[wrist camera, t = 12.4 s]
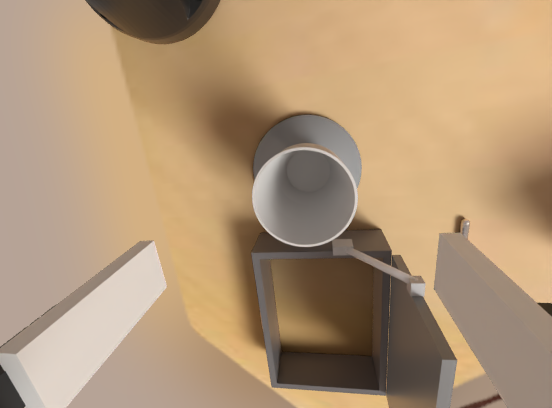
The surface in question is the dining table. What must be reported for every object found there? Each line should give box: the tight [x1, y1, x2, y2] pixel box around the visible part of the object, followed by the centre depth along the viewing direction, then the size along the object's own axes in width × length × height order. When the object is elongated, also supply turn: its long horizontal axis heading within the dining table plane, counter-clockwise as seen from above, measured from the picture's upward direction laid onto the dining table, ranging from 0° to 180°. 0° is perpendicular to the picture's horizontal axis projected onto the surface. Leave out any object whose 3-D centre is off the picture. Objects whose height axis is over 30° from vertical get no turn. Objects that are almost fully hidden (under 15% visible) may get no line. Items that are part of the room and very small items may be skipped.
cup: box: [252, 143, 358, 247], centre depth 26 cm, size 8×8×10 cm
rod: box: [460, 219, 470, 240], centre depth 31 cm, size 9×1×1 cm, turn 6°
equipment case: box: [251, 229, 457, 408], centre depth 28 cm, size 22×16×17 cm
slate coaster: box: [253, 115, 362, 188], centre depth 31 cm, size 12×12×1 cm
